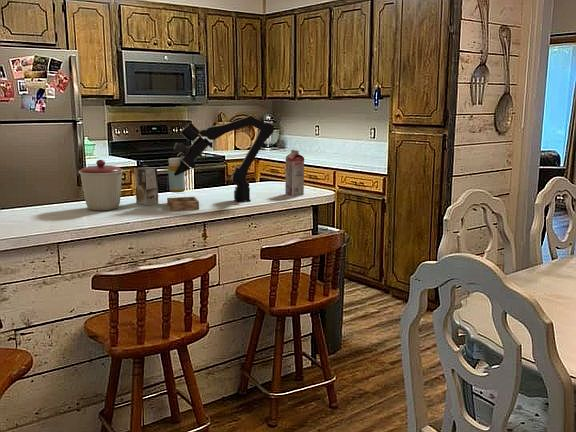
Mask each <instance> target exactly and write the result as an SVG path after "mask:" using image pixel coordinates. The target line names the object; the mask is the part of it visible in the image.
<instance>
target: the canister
mask: <svg viewBox="0 0 576 432" xmlns="http://www.w3.org/2000/svg"><path fill="white" fill-rule="evenodd" d="M95 163H96V165H90V166H85V167H83V168H82V169H80V170H78V174H80V179H81V181H80V182H81V185H82V190H83V191H82V192H83V196H84V200H85V204H86V207H87V208H88V209H89V210H91V211H99V212H100V211H102V212H103V211H111V210H114V209H117V208H119V206H120V204H121V197H122V195H121V193H122V179H123V178H122V176H123V172H124V169H122V168H120V167H119V166H115V165H106V161H105V160H104V159H98V160H97V161H96V162H95Z"/></svg>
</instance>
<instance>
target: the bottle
mask: <svg viewBox="0 0 576 432" xmlns="http://www.w3.org/2000/svg"><path fill="white" fill-rule="evenodd" d="M180 159H181V160H182V158H179V157H178V158H177V157H170V158H168V168H167V171H168V186H169V192H170V193H183V192H185V191H186V181H185V180H186V179H185V172H183V173H181V174H179V175H177V176H175V175H174V173H175V171H176V170H177V168H178V167H179V165H180ZM182 161H183V160H182Z"/></svg>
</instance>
